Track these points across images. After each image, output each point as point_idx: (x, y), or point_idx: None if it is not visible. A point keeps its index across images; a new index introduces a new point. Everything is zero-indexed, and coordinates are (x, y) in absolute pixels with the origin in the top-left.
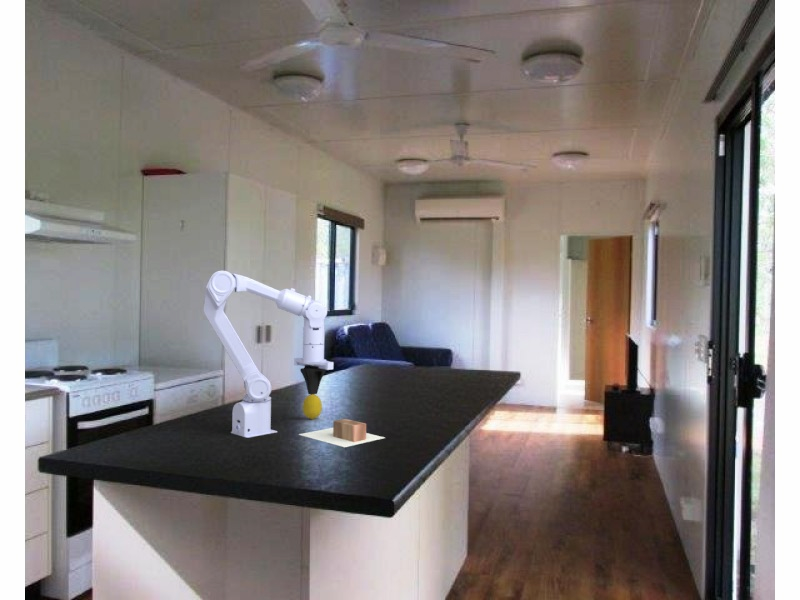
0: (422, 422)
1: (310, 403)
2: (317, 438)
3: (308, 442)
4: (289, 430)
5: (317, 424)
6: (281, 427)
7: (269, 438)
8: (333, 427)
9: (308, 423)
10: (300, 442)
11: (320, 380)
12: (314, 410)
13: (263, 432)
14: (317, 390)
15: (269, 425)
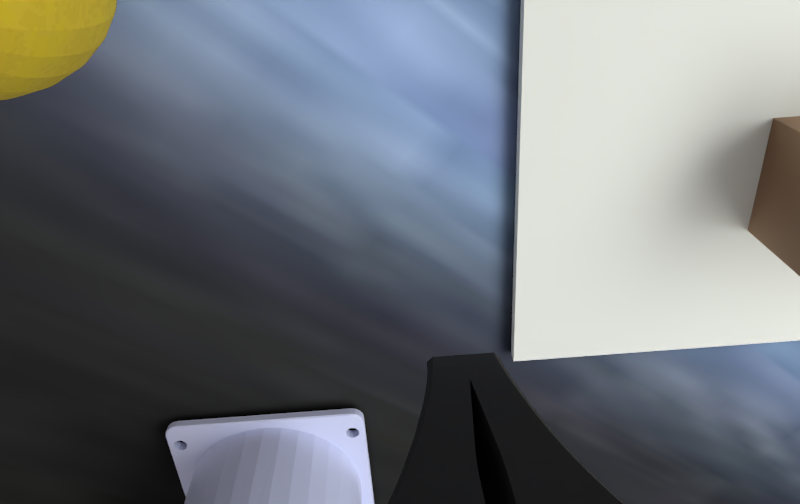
0: None
1: (45, 68)
2: (694, 331)
3: (675, 379)
4: (321, 312)
5: (252, 23)
6: (197, 307)
7: None
8: (787, 263)
9: (166, 65)
10: (638, 408)
11: (595, 485)
12: (108, 12)
13: (361, 493)
14: (510, 382)
15: (343, 486)
